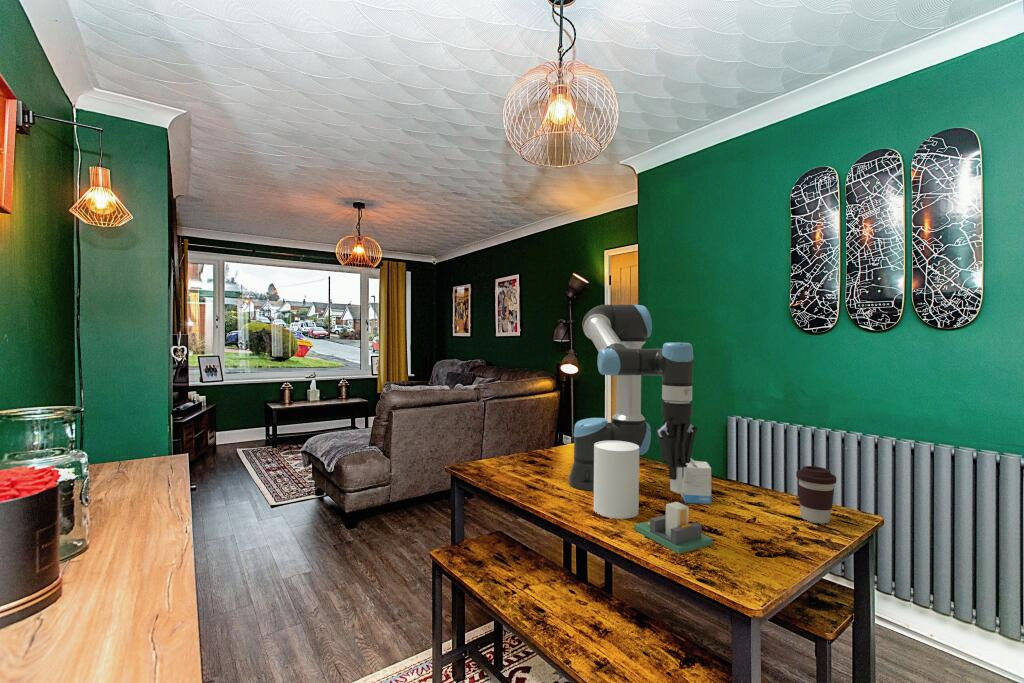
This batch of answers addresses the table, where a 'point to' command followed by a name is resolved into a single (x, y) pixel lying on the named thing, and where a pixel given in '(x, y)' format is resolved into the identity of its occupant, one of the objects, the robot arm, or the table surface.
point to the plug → (676, 516)
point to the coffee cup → (815, 493)
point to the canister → (616, 479)
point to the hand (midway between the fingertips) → (676, 491)
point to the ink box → (696, 483)
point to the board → (671, 546)
